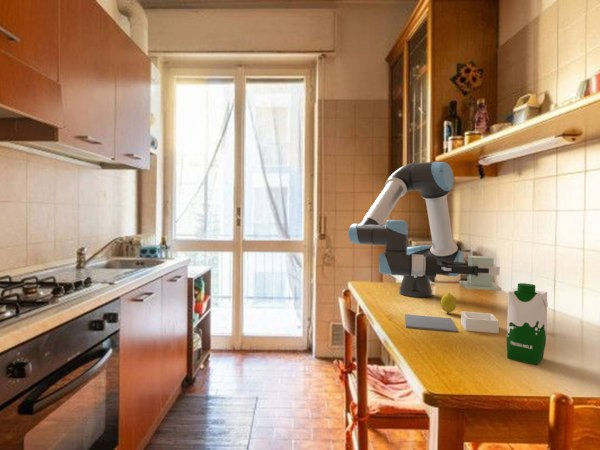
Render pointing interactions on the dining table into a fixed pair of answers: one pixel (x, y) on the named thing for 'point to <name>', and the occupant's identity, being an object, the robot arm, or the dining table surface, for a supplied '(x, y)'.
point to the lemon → (448, 303)
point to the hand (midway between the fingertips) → (496, 269)
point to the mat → (430, 323)
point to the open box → (479, 322)
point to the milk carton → (526, 324)
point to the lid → (480, 275)
